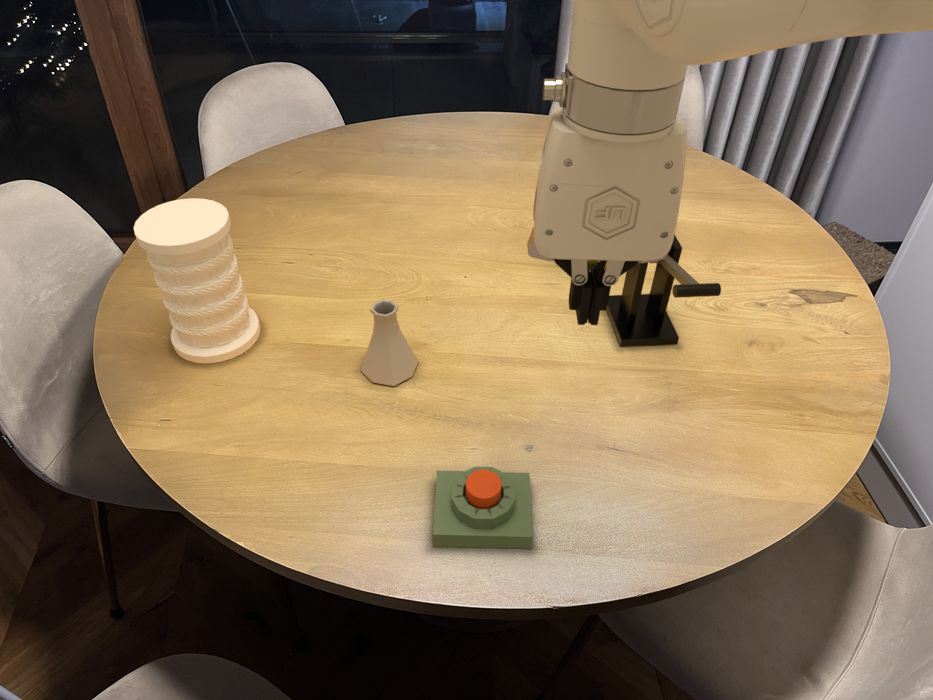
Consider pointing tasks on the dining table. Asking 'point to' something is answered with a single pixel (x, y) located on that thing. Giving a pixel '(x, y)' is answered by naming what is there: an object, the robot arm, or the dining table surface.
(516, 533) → the button block
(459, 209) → the dining table surface
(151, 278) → the dining table surface
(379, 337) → the flask
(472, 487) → the stop button
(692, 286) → the lever
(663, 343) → the switch bracket
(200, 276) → the decorative container
